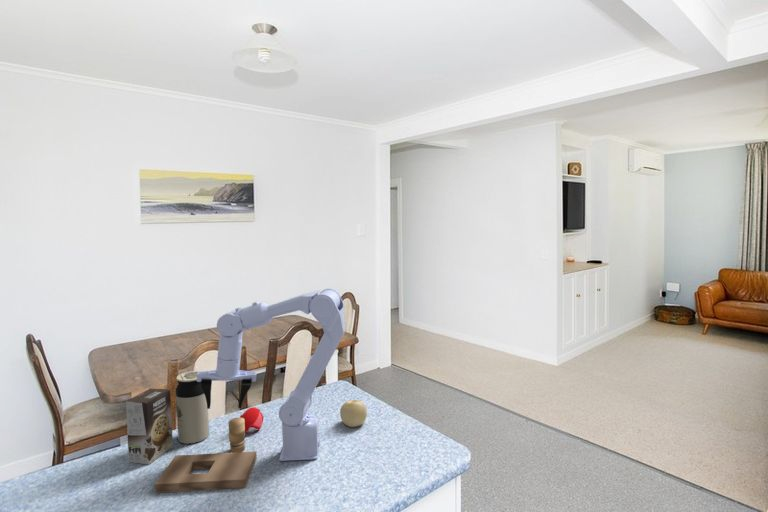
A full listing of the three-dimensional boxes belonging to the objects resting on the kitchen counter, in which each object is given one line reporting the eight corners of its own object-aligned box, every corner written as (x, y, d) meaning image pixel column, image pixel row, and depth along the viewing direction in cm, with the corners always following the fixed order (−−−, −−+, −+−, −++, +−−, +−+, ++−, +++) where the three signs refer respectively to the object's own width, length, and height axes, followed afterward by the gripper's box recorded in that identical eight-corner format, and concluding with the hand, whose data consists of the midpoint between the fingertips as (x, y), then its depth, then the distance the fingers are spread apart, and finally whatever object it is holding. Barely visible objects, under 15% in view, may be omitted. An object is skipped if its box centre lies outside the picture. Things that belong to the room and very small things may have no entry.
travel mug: (208, 428, 128) (205, 368, 127) (210, 440, 121) (207, 377, 120) (178, 434, 125) (175, 373, 123) (178, 447, 118) (175, 382, 116)
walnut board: (256, 458, 112) (256, 451, 112) (245, 487, 100) (245, 479, 100) (175, 463, 110) (175, 455, 110) (155, 492, 98) (154, 484, 98)
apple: (355, 432, 125) (341, 408, 125) (344, 432, 131) (331, 409, 132) (375, 416, 129) (362, 393, 130) (364, 417, 136) (352, 395, 136)
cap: (251, 410, 133) (236, 406, 128) (266, 407, 130) (251, 403, 126) (248, 438, 128) (232, 435, 124) (263, 436, 126) (247, 432, 121)
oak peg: (247, 445, 118) (246, 417, 118) (243, 453, 114) (242, 424, 114) (231, 446, 118) (230, 417, 117) (227, 454, 114) (226, 424, 113)
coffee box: (150, 465, 109) (146, 402, 108) (127, 462, 111) (124, 400, 109) (174, 446, 118) (171, 388, 117) (153, 444, 120) (150, 387, 118)
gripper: (257, 352, 120) (252, 399, 121) (200, 351, 115) (195, 400, 116) (258, 361, 113) (253, 411, 114) (198, 360, 108) (193, 412, 110)
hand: (224, 406), depth 115 cm, fingers open, 7 cm apart
